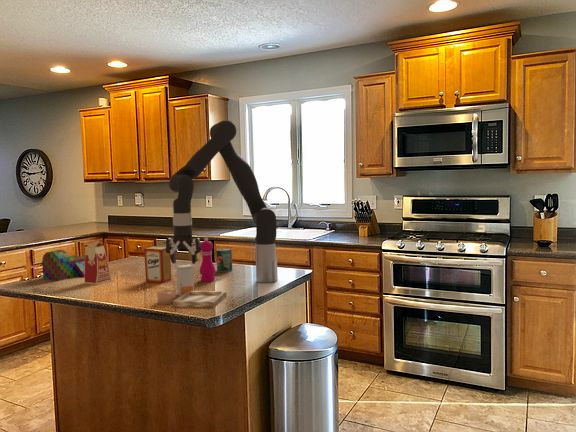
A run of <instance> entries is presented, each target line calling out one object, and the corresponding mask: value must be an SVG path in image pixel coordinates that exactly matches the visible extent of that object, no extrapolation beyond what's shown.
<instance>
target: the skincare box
mask: <svg viewBox="0 0 576 432" xmlns="http://www.w3.org/2000/svg"><path fill="white" fill-rule="evenodd" d="M175 267H176V289H177V292H176V295H178V297H180V296H181V295H183V294H185V293H186V292H188V291H195V285H194V283H195V282H194V266H193V264H182V265H176V266H175Z"/></svg>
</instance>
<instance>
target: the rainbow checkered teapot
mask: <svg viewBox="0 0 576 432" xmlns="http://www.w3.org/2000/svg"><path fill="white" fill-rule="evenodd" d="M41 259H42V262H41V264H42V265H41V266H42V277H43V278H42V279H43V280H50V281H64V280H68V279H72V278H73V279H74V278H76V277H77V278H78V277H80V278H84V271H85V256H74V255H73V256H69V254H68V253H67V251H65V250H64V249H56V250H52V251H46V252H45V253H44V254H43V256H42V258H41Z"/></svg>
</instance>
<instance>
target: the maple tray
mask: <svg viewBox="0 0 576 432" xmlns="http://www.w3.org/2000/svg"><path fill="white" fill-rule="evenodd" d="M227 295H228V294H227V291H224V290H223V291H218V290H217V291H214V290H194V291H188V292H186V293H185V294H183V295H181V296H178V297H176V299H175V300H174V301H173V303H172V307H178V308H179V307H182V308H183V307H185V308H188V307H189V308H216V306H217V305H219V303H221V302H222V301H224V300H225V298H226V297H227Z"/></svg>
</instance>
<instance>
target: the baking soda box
mask: <svg viewBox="0 0 576 432" xmlns="http://www.w3.org/2000/svg"><path fill="white" fill-rule="evenodd" d="M143 249H144V250H143V252H144V268H145V269H144V270H145V271H144V272H145V283H156V284H158V283H159V284H165V283H167V282H170V281H172V265H171V263H172V262H171V254H170V253H166V246H160V245H159V246H150V247H146V248H143Z"/></svg>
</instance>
